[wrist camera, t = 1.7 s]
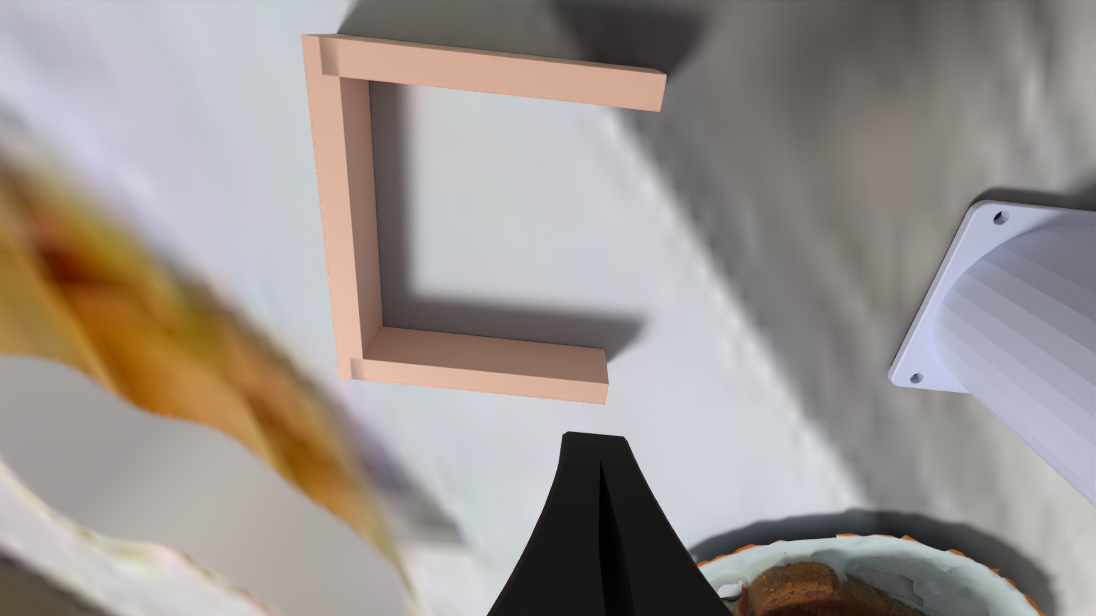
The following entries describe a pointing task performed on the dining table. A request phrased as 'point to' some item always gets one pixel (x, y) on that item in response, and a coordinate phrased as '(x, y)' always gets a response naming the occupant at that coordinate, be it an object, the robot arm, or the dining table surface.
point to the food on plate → (862, 580)
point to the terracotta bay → (351, 215)
